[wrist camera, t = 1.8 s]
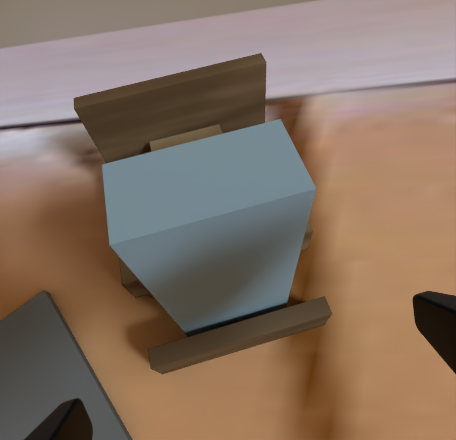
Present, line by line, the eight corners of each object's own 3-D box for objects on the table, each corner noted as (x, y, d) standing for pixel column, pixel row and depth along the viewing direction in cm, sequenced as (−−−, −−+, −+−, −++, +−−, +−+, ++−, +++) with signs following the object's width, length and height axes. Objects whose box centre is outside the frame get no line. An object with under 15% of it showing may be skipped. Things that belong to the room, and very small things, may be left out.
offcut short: (234, 194, 26) (230, 154, 22) (171, 211, 25) (155, 174, 21) (224, 166, 27) (219, 124, 23) (165, 181, 27) (149, 141, 23)
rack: (339, 320, 20) (382, 269, 13) (145, 379, 19) (83, 358, 12) (260, 142, 28) (261, 53, 21) (120, 178, 27) (73, 98, 20)
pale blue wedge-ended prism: (284, 312, 21) (316, 188, 10) (191, 340, 20) (109, 244, 9) (268, 269, 22) (280, 119, 11) (181, 294, 22) (101, 164, 11)
